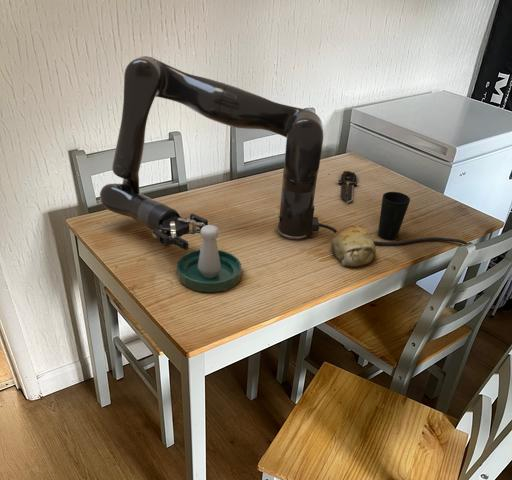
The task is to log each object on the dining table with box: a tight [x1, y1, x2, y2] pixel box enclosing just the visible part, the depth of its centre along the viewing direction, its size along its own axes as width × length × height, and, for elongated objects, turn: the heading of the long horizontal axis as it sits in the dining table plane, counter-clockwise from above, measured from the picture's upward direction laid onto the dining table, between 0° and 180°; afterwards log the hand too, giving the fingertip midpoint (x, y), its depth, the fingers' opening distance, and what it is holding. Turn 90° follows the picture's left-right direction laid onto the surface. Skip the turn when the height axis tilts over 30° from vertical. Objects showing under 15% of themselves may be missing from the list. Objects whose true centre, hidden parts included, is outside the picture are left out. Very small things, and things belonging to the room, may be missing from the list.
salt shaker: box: [198, 224, 221, 278], centre depth 132 cm, size 6×6×13 cm
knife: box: [337, 170, 358, 204], centre depth 182 cm, size 25×6×1 cm, turn 165°
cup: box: [377, 191, 411, 241], centre depth 155 cm, size 8×8×12 cm
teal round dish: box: [176, 249, 242, 293], centre depth 136 cm, size 16×16×3 cm
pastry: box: [330, 225, 377, 268], centre depth 146 cm, size 14×12×8 cm
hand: (200, 240), depth 133 cm, fingers open, 8 cm apart
